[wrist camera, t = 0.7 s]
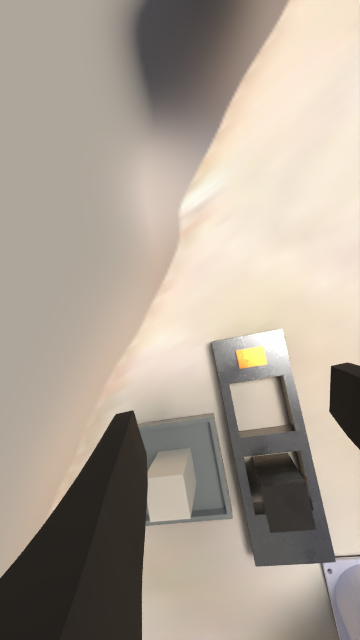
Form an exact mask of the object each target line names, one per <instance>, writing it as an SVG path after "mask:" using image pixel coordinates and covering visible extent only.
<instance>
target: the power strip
mask: <svg viewBox="0 0 360 640" xmlns="http://www.w3.org/2000/svg"><path fill="white" fill-rule="evenodd" d="M212 346H213V351H214V356H215V361H216V367H217V372H218V377H219V382H220V387H221V392H222V397H223V402H224V407H225V412H226V418H227V423H228V428H229V433H230V438H231V443H232V448H233V453H234V458H235V463H236V468H237V474H238V479H239V484H240V489H241V494H242V499H243V504H244V509H245V514H246V519H247V525H248V530H249V535H250V540H251V545H252V550H253V555H254V560H255V565H256V566H275V565H294V564H313V563H332V562H336V560H335V555H334V551H333V547H332V542H331V538H330V534H329V529H328V525H327V521H326V516H325V512H324V508H323V503H322V499H321V495H320V490H319V486H318V482H317V477H316V473H315V469H314V464H313V460H312V456H311V451H310V447H309V443H308V438H307V434H306V430H305V425H304V421H303V417H302V412H301V408H300V404H299V399H298V395H297V391H296V386H295V382H294V378H293V373H292V369H291V365H290V360H289V356H288V352H287V347H286V343H285V339H284V334H283V330H282V329H279V330H273V331H268V332H263V333H257V334H252V335H246V336H241V337H235V338H230V339H224V340H219V341H214V342H212ZM274 376H280V380H281V384H282V389H283V393H284V398H285V402H286V407H287V411H288V415H289V420H290V424H291V425H285V426H278V427H270V428H262V429H255V430H247V431H239V432H238V427H237V422H236V417H235V412H234V407H233V402H232V397H231V392H230V387H229V384H230V383H236V382H243V381H249V380H255V379H262V378H268V377H274ZM290 451H297V456H298V460H299V464H300V469H301V473H302V476H301V474H300V472H299V471H298V469H297V467H296V466H295V464H294V463H293V461H292V459H291V458H290V456H289V454H288V453H282V452H290ZM273 453H282V454H273ZM264 454H273V455H264ZM255 455H264V456H255ZM247 456H255V457H252V458H253V463H254V468H255V473H256V477H257V482H258V487H259V492H260V496H261V500H262V502H259V503H253V502H252V497H251V492H250V487H249V482H248V477H247V472H246V467H245V462H244V457H247Z"/></svg>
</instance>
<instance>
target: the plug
mask: <svg viewBox="0 0 360 640" xmlns="http://www.w3.org/2000/svg"><path fill="white" fill-rule="evenodd" d="M195 489H196V477H195V471H194V466H193V460H192V455H191V449H190V448H185V449H177V450H169V451H161V452H158V454H157V455H156V457H155V459H154V461H153V463H152V464H151V466H150V468H149V470H148V493H147V505H148V511H149V518H150V522H158V521H171V520H183V519H191V513H192V507H193V501H194V495H195Z"/></svg>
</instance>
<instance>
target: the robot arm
mask: <svg viewBox="0 0 360 640" xmlns="http://www.w3.org/2000/svg"><path fill="white" fill-rule="evenodd" d="M329 412H330V413H331V414H332V416H333V417H334V419H335V420H336V421H337V423H338V424H339V426H340V427H341V428H342V429H343V431H344V432H345V433H346V435H347V436H348V437H349V438H350V439H351V441H352V442H353V443H354V444H355V445H356V446H357V447H358V448H359V449H360V366H358V365H355V364H351V363H343V364H338V365H334V366H331V382H330V410H329ZM147 493H148V471H147V453H146V450H145V447H144V443H143V440H142V437H141V434H140V430H139V427H138V424H137V421H136V418H135V414H134V411H128V412H124V413H119V414H116V415H115V416H114V418H113V420H112V421H111V423H110V425H109V426H108V428H107V430H106V431H105V433H104V435H103V436H102V438H101V440H100V441H99V443H98V445H97V446H96V448H95V450H94V451H93V453H92V455H91V456H90V458H89V459H88V461H87V462H86V464H85V466H84V467H83V469H82V470H81V472H80V473H79V475H78V477H77V478H76V479H75V481H74V482H73V484H72V485H71V487H70V488H69V490H68V491H67V493H66V494H65V496H64V497H63V498H62V500H61V501H60V503H59V504H58V506H57V507H56V508H55V510H54V511H53V513H52V514H51V515H50V517H49V518H48V519H47V521H46V522H45V523H44V525H43V526H42V527H41V529H40V530H39V531H38V533H37V534H36V535H35V537H34V538H33V539H32V540H31V542H30V543H29V544H28V546H27V547H26V548H25V549H24V551H23V552H22V553H21V555H20V556H19V557H18V558H17V559H16V561H15V562H14V563H13V564H12V565H11V567H10V568H9V569H8V570H7V571H6V572H5V573H4V575H3V576H2V577H1V578H0V640H142V570H143V555H144V540H145V525H146V509H147ZM335 560H336V562H332V563H322V565H323V569H324V574H325V578H326V583H327V587H328V591H329V596H330V600H331V605H332V609H333V614H334V618H335V623H336V627H337V632H338V636H339V640H360V556H358V557H340V558H335ZM328 569H331V570H329V571H328Z"/></svg>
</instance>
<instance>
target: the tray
mask: <svg viewBox="0 0 360 640" xmlns="http://www.w3.org/2000/svg"><path fill="white" fill-rule="evenodd" d="M138 427H139V430H140V434H141V437H142V440H143V443H144V447H145V450H146V453H147V471H148V470H149V468H150V466H151V464H152V463H153V461H154V459H155V457H156V455H157V454H158V452H161V451H169V450H177V449H185V448H190V449H191V455H192V460H193V466H194V471H195V477H196V489H195V495H194V501H193V507H192V513H191V519H183V520H171V521H158V522H150V518H149V511H148V505H147V509H146V525H145V526H147V525H160V524H172V523H185V522H197V521H210V520H222V519H233V518H232V507H231V502H230V497H229V492H228V486H227V481H226V476H225V471H224V465H223V460H222V455H221V450H220V444H219V439H218V434H217V429H216V423H215V418H214V413H211V414H204V415H197V416H190V417H183V418H176V419H169V420H162V421H155V422H148V423H141V424H138Z"/></svg>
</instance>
